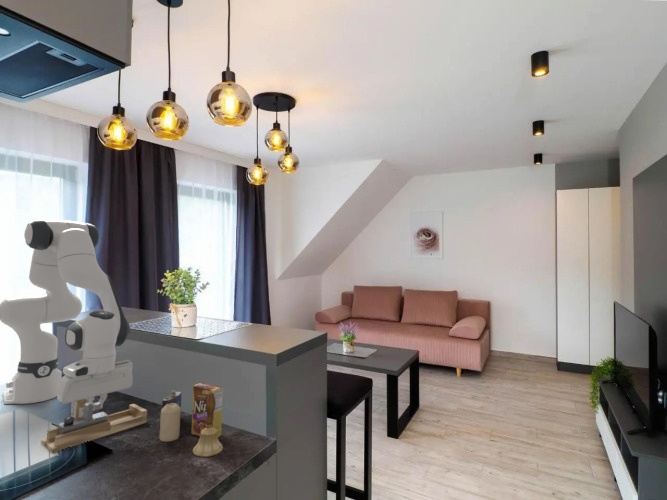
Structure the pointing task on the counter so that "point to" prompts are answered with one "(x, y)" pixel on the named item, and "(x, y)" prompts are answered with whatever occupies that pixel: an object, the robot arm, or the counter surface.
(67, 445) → the guide rail
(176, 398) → the flask
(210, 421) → the hand bell
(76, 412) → the sprinkles bottle
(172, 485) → the counter surface
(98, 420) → the sliding block with knob
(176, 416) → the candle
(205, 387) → the candy box
